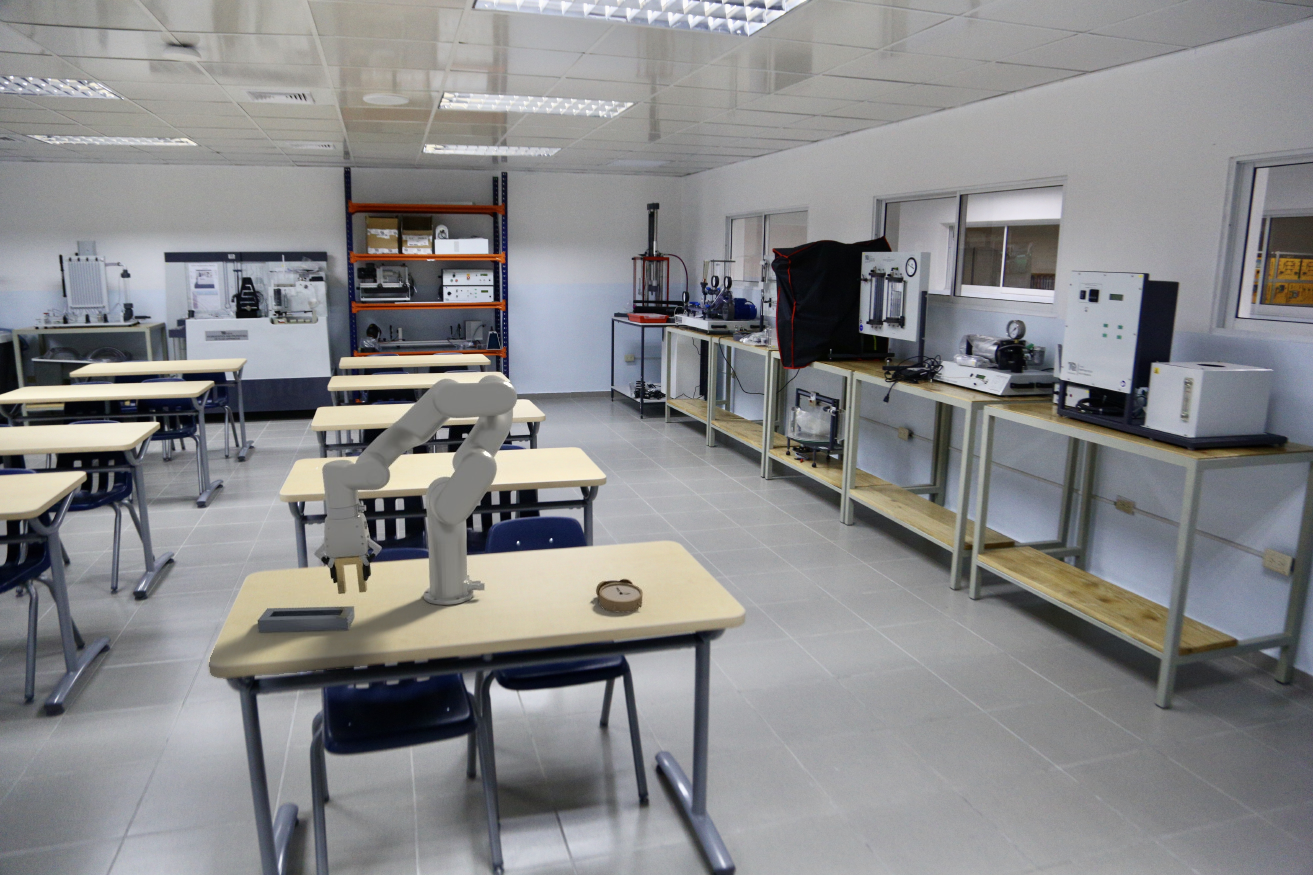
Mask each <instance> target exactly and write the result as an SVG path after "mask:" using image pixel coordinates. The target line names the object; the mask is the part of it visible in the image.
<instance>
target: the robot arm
mask: <svg viewBox="0 0 1313 875" xmlns="http://www.w3.org/2000/svg"><path fill="white" fill-rule="evenodd" d="M516 390H517V389H515V387H514V385H513V384H512V383H510V382H509V381H507V380H505V379H504V378H502V377H500V376H498V375H494V374H489V375H485V376H484V377H482V378H480V380H479V381H478V382H467V383H465V382H463V383H461V382H458V381H456V380H455V379H452V378H443V379H440V380H438V381H436V382H435V383H434V384H433V385H431V387H430V388H429V389H428V390H426V392H425V393H424V394H423V395H422V396H421V397H420V398H419V399H418V400H417V401H416V402H415V403H414V404H413V405H412V406H411V407H410V408H409V409H408V410H407V411H406V413H404V414H403V415H402V416H401V417H400V418H399V419H398V420H397V421H395V422H393V423H392V424H391V425H390V426H389V427H387V428H386V429H385V430H384V431H383V432H381V433H380V434H379V435H378V436H377V437H376V438H375V439H374V440H372V442H371V443H370V444H369V445H368V446H366V448H365V449H364V450H363V451H362V452H361V453H360V455H358V457H357V459H356V460H355V463H354V462H353V461H351V460H347V459H336V460H331V461H328V462H326V463H324V464H323V466H322V468H321V470H322V473H321V474H322V480H323V489H324V497H325V506H326V515H327V516H326V517H325V518H324V530H323V533H324V535H323V536H324V539H323V540H324V541H323V543H322V544H321V545H320V546H319V547H318V548H317V549H316V550H315V551H314V553H313V554H314V556H315V557H317V558H318V559H319V560H320V561H321V562H322V563H323V564H325V565H326V566H327V568H328V569H329V574H330V579H331V580H333V581H332V582H333V584H337V576H336V568H335V559H336V558H338V557H353V556H359V557H360V559H361V560H362V562H363V566H362V570H363V579H364V581H366V582H368V580H369V578H370V577H371V575H372V571H371V570H372V569H371V563H372V562H373V560H374V559H375V558H376V557H377V555H379V553H380V552H381V551H382V550H383V549H382V546H381V545H379V544H378V543H377V542H375V541H374V540H372V539H371V536H370V532H369V527H368V523H367V518H366V516H365V513H364V512H363V511H367V505H366V504H361V501H360V500H359V499H360V498H359V491H378V490H382V489H383V488H385V486H387V485H388V484H389V481H390V479H391V472H390V469H389V468H390V467H391V466H392V465H393V464H394V463H395V461H397V460H398V459H399V458H400V457H401V456H402V455H403V454H404V453H406V452H407V451H408V450H411V449H412V448H415V447H418V446H421V445H424V444H425V443H427V442H428V441H429V440H430V439H431V438H432V437H433V436H434V435H435V434H436V433H437V432H438V431H439V430H440V429H441V427H443V426H444V425H445V424H446V422H448V421H449V420H450V418H451V419H467V418H468V419H469V418H477V421H476V423H475V424H474V425H473V427H472V429H471V431H470V432H469V433H468V435H467V436H466V438H465V439H464V440H463V441H462V444H461V445H460V446H459V447H458V449H457V450H456V451H455V453H454V455H453V458H452V464H451V465H452V469H453V470H454V471H453V473H452V474H451V476H440V477H437V478H435V479H434V480H433V481H432V482H430V484H429V485H428V487H427V490H426V493H425V508H426V517H427V532H428V533H427V534H428V536H427V537H428V541H427V542H428V570H429V571H428V572H429V573H428V577H429V587H428V588H426V589H425V590H424V591H423V599H424V600H425V601H426V602H428V603H430V604H433V605H441V606H447V605H448V606H451V605H457V604H461V603H464V602H467V601H468V600H470V599H472V598H473V596H474V591H481V592H482V591H485V589H486V588H485V585H486V584H485V583H484V582H481V580H472V579H470V575H468V565H467V564H468V560H467V558H468V557H467V554H468V552H467V551H468V550H467V519H468V518H469V517H470V516H471V515H472V513H473V512H474V510H475V509H476V507H478V505H479V504H480V502H481V501H482V499H483V498H484V496H485V494H486V493H487V492H488V490H489V489H490V488H491V486H492V484H493V482H494V481H495V478H496V475H497V472H498V471H497V470H498V466H497V462H496V459H495V457H496V455H497V453H498V452H499V451H500V449H501V447H502V446H503V444H504V442H505V440H506V439H507V437H508V436H509V433H510V431H511V428H512V426H513V421H514V420H513V419H514V408H515V406H516V404H517V402H518V393H517V391H516ZM370 549H372V550H373V551H372V552H371V553H370V554H369V553H368V550H370ZM324 551H325V552H324ZM324 553H325V554H324Z"/></svg>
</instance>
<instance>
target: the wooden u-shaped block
mask: <svg viewBox="0 0 1313 875" xmlns="http://www.w3.org/2000/svg"><path fill="white" fill-rule="evenodd" d="M353 564H354V565H355V567H356V575H357V582H358V583H357V584H358V592H359V593H366V592H367V591H368V586H367V584H368V582H367V581H364V579H363V570H362V566H363V562H362V560H361V559H360V557H359V556H353V557H338V558H336V559H335V568H336V576H337V583H336V585H337V593H338V594H339V595H340V594H341V595H343V594H344V595H345V594H346V593H347V591H348V590H347V582H346V575H345V565H353Z"/></svg>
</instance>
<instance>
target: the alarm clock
mask: <svg viewBox="0 0 1313 875" xmlns="http://www.w3.org/2000/svg"><path fill="white" fill-rule="evenodd" d="M595 594H596V596H597V597H598V598H599V599H598V604H599V606H600V607H601V606H602V607H603V608H606V609H607V610H606V611H608V610H612V611H619V612H618V613H627V612H626V611H630V612H633V611H632V610H634V611H636V609H637V610H639V609H640V608H641V607H642V606H643V595H644V592H643V590H642V589H641V588H640V587H639V586H638V585H635V584H633V582H632V581H631V579H629V578H621V579H620V580H617V579H616V580H615V579H614V580H612V579H611V580H602V581H601V582H599V583H598V584H597V585H596V588H595ZM640 606H641V607H640ZM602 607H601V608H602ZM639 607H640V608H639ZM603 608H602V609H603ZM638 608H639V609H638ZM612 611H611V612H612Z"/></svg>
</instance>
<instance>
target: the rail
mask: <svg viewBox="0 0 1313 875" xmlns="http://www.w3.org/2000/svg"><path fill="white" fill-rule="evenodd" d="M354 620H355V606H353V605H351V606H350V605H349V606H348V605H347V606H311V607H310V606H309V607H304V606H303V607H273V608H271V607H269V608H268V607H267V608H266V609H265V610H264V612H263V613H262V615H260V617H259V618H258V619H257V629H258V630H257V632H258V633H285V632H286V633H289V632H290V633H292V632H296V633H297V632H324V631H325V632H326V631H348V630H349V629H350V628H351V626H352V623H353V621H354Z"/></svg>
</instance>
